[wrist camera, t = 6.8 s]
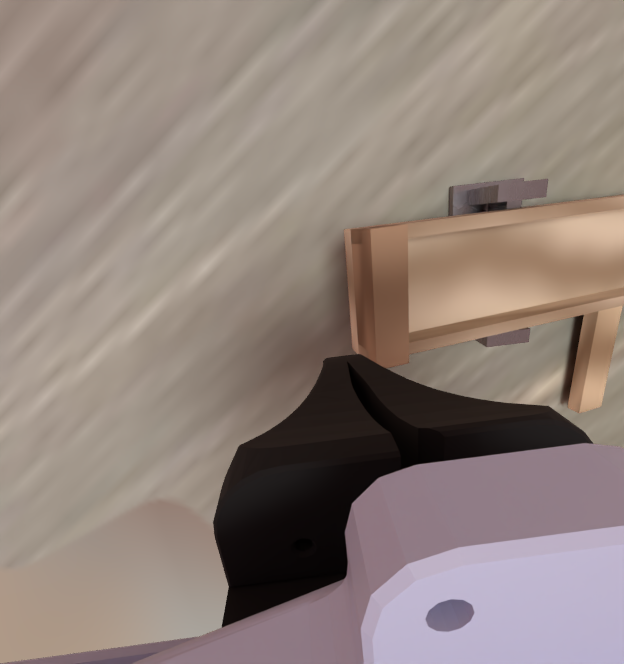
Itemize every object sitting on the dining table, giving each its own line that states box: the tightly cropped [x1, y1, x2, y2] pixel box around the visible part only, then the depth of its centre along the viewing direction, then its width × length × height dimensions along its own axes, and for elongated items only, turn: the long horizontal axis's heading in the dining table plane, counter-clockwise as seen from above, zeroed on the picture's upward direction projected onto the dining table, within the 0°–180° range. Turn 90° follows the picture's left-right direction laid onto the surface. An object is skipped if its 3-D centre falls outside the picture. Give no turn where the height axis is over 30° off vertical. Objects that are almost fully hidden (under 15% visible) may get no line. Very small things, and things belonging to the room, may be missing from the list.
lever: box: [344, 195, 624, 413], centre depth 18 cm, size 14×18×3 cm
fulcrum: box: [449, 178, 548, 347], centre depth 18 cm, size 9×4×3 cm, turn 6°
